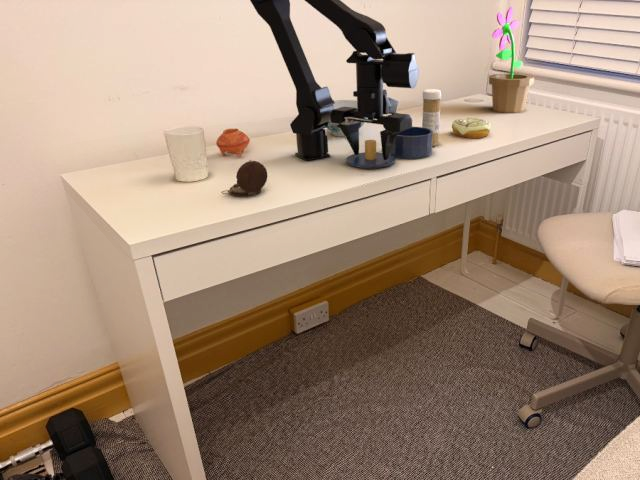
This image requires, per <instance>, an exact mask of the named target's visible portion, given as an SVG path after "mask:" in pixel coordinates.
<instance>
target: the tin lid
mask: <svg viewBox="0 0 640 480" xmlns="http://www.w3.org/2000/svg"><path fill="white" fill-rule="evenodd" d="M345 162H346V163H347V164H348V165H349V166H353V167H356V168H364V169H379V168H382V167H388V166H390V165H393V164H394V163H396V157H394V156H393V155H390V154H389V156H388V159H387V160H384V159H383V154H382V152H379V151H377V141H376V140H375V139H366V140H365V141H364V152H359V154H358V155H355V154H354V153H352V154H350V155H348V156H347V157H346V158H345Z"/></svg>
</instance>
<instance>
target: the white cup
mask: <svg viewBox="0 0 640 480" xmlns="http://www.w3.org/2000/svg"><path fill="white" fill-rule="evenodd" d="M163 135H164V139H165V143H166V148H167V151H168V152H167V153H168V155H169V160H170V163H171V167H172V168H173V174H174V177H175V179H176V181H179V182H183V183H187V182H188V183H190V182H198V181H202V180H205V179H207V178H208V177H209V169H208V158H207V148H206V147H207V145H206V137H205V129H204V127H201V126H195V125H193V126H192V125H189V126H188V125H186V126H185V125H183V126H175V127H171V128H170V127H169V128H167V129H166V130H163Z"/></svg>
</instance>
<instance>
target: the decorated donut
mask: <svg viewBox="0 0 640 480" xmlns="http://www.w3.org/2000/svg"><path fill="white" fill-rule="evenodd" d="M451 129H452V132H453V133H454V134H455V135H456V136H458V137H462V138H466V139H470V138H471V139H476V138H480V139H481V138H484V137H487V136H489V134H490V131H491V129H492V124H491V123H490V122H489V121H487V120H485V119H482V118H478V117H477V118H476V117H465V118H457V119H455V120H453V121H452V123H451Z"/></svg>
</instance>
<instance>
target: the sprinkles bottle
mask: <svg viewBox="0 0 640 480" xmlns="http://www.w3.org/2000/svg"><path fill="white" fill-rule="evenodd" d="M441 99H442V90H441V89H438V88H427V89H426V88H425V89H424V90H422V120H421V121H422V123H421V124H422V125H421V127H423V128H427V129H431V130H432V131H433V146H432V147H437V146H439V145H440V130H441V129H440V128H441V127H440V125H441Z"/></svg>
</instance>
